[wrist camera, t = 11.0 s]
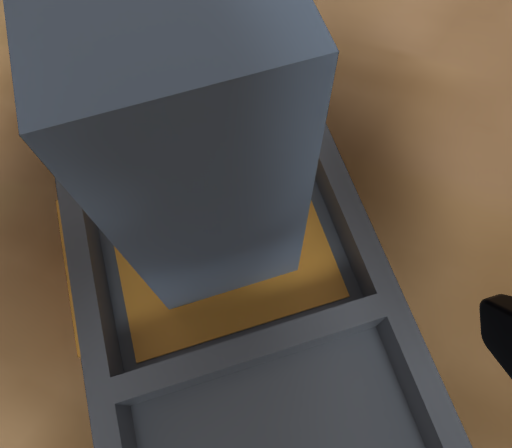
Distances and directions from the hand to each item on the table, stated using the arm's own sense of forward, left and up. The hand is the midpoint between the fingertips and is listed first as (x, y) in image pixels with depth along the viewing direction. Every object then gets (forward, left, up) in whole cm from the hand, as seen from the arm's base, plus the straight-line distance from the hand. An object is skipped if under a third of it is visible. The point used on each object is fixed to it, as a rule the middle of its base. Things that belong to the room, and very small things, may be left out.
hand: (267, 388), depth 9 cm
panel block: (+3, +6, -7) cm, 10 cm away
